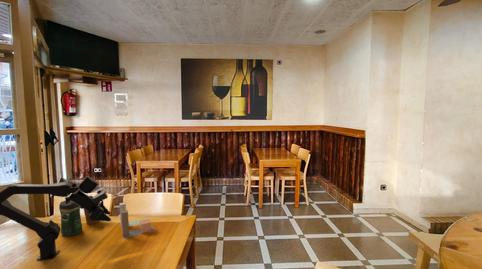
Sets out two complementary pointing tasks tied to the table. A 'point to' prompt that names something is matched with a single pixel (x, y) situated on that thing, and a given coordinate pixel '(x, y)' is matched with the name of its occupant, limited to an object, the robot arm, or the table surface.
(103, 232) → the table surface
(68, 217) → the coffee jar
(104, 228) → the table surface
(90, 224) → the disposable coffee cup
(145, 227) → the terracotta cube
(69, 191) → the robot arm
